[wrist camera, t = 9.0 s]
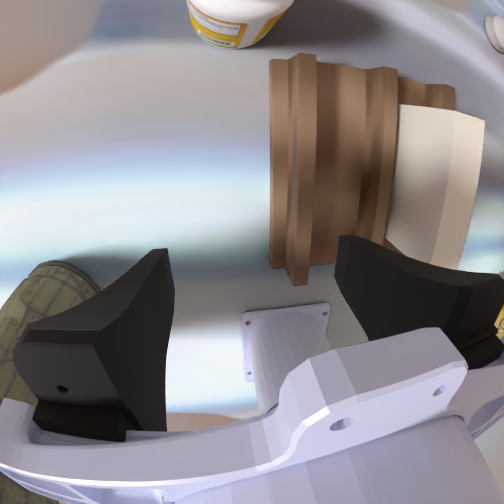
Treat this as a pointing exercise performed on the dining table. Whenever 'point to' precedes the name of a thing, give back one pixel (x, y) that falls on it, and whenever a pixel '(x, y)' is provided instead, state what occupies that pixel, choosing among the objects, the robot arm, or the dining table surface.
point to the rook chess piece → (495, 31)
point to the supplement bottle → (235, 20)
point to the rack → (333, 155)
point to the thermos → (11, 327)
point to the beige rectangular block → (433, 183)
